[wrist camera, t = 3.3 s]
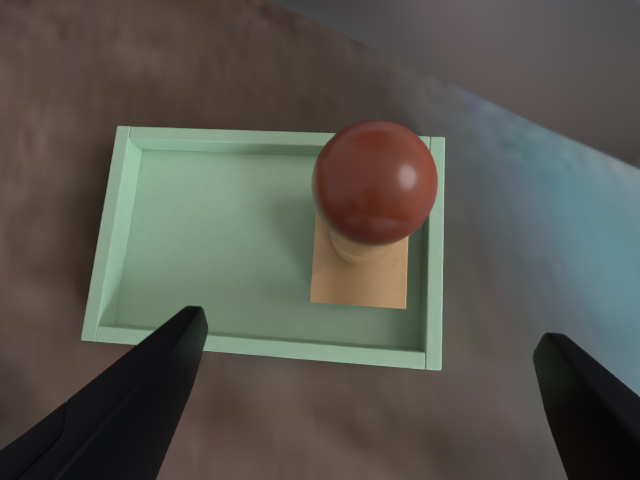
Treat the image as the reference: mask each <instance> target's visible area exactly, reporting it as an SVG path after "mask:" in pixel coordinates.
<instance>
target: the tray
mask: <svg viewBox="0 0 640 480" xmlns="http://www.w3.org/2000/svg"><path fill="white" fill-rule="evenodd" d="M335 134H337V133H310V132H280V131H249V130H219V129H189V128H159V127H130V126H117V132H116V137H115V143H114V149H113V155H112V161H111V167H110V172H109V178H108V184H107V190H106V196H105V202H104V207H103V213H102V219H101V225H100V231H99V237H98V242H97V248H96V254H95V260H94V266H93V272H92V277H91V283H90V289H89V295H88V301H87V307H86V312H85V318H84V324H83V330H82V336H81V340H85V341H97V342H109V343H121V344H132V345H137V344H139V343H140V342H141V341H142V340H144V339H145V338H146V337H147V336H149V335H150V334H151V333H152V332H154V331H155V330H156V329H158V328H159V327H160V326H161V325H163V324H164V323H165V322H166V321H168V320H169V319H170V318H171V317H173V316H174V315H175V314H176V313H178V312H179V311H180V310H181V309H183V308H184V307H185V306H188V305H194V306H201V307H202V308H203V309H204V313H205V316H206V320H207V324H208V335H207V338H206V342H205V345H204V349H203V351H215V352H226V353H238V354H250V355H262V356H273V357H285V358H297V359H309V360H320V361H332V362H344V363H356V364H368V365H379V366H391V367H403V368H415V369H428V370H441V361H442V294H443V226H444V159H445V138H444V137H429V136H418V137H419V138H420V139H421V140H422V141H423V142H424V143H425V144H426V146H427V147H428V149H429V150H430V152H431V154H432V156H433V159H434V162H435V165H436V169H437V174H438V187H437V195H436V199H435V202H434V205H433V208H432V210H431V211H430V213H429V215H428V217H427V218H426V220H425V221H424V222H423V224H422V225H421V226H420V227H419V228H418V229H417V230H416V231H415V232H413V233H412V234H411V235H409V236H408V262H407V294H406V309H398V308H384V307H370V306H356V305H342V304H329V303H315V302H309V297H310V283H311V270H312V256H313V242H314V229H315V215H316V208H315V205H314V201H313V198H312V190H311V178H312V172H313V168H314V165H315V162H316V159H317V157H318V155H319V153H320V152H321V150H322V148H323V147H324V146H325V145H326V143H327V142H328V141H329V140H330V139H331V138H332V137H333V136H334V135H335Z"/></svg>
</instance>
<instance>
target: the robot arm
mask: <svg viewBox="0 0 640 480" xmlns="http://www.w3.org/2000/svg"><path fill="white" fill-rule="evenodd" d="M207 335H208V324H207V320H206V316H205V313H204V309H203V308H202V307H201V306H194V305H188V306H185V307H184V308H183V309H181V310H180V311H179V312H178V313H176V314H175V315H174V316H173V317H171V318H170V319H169V320H168V321H166V322H165V323H164V324H163V325H161V326H160V327H159V328H158V329H156V330H155V331H154V332H152V333H151V334H150V335H149V336H147V337H146V338H145V339H144V340H142V341H141V342H140V343H139V344H137V345H136V346H135V347H134V348H132V349H131V350H130V351H129V352H127V353H126V354H125V355H124V356H122V357H121V358H120V359H119V360H117V361H116V362H115V363H114V364H112V365H111V366H110V367H108V368H107V369H106V370H105V371H103V372H102V373H101V374H100V375H98V376H97V377H96V378H95V379H93V380H92V381H91V382H90V383H88V384H87V385H86V386H85V387H83V388H82V389H81V390H80V391H78V392H77V393H76V394H75V395H73V396H72V397H71V398H70V399H68V401H67V402H65V403H63V404H62V405H61V406H59V407H58V408H57V409H56V410H54V411H53V412H52V413H50V414H49V415H48V416H47V417H45V418H44V419H43V420H41V421H40V422H39V423H38V424H36V425H35V426H34V427H32V428H31V429H30V430H28V431H27V432H26V433H24V434H23V435H22V436H20V437H19V438H17V439H16V440H15V441H13V442H12V443H11V444H9V445H8V446H6V447H5V448H4V449H2V450H1V451H0V480H156V478H157V475H158V473H159V470H160V468H161V465H162V463H163V460H164V458H165V455H166V453H167V450H168V448H169V445H170V443H171V440H172V438H173V435H174V433H175V430H176V428H177V425H178V423H179V420H180V418H181V415H182V413H183V410H184V408H185V405H186V403H187V400H188V398H189V395H190V393H191V390H192V387H193V384H194V381H195V378H196V374H197V371H198V367H199V363H200V360H201V356H202V353H203V349H204V345H205V342H206V338H207ZM533 362H534V366H535V371H536V375H537V379H538V383H539V388H540V392H541V396H542V400H543V405H544V409H545V413H546V417H547V420H548V423H549V426H550V429H551V432H552V435H553V438H554V441H555V444H556V446H557V449H558V452H559V455H560V458H561V461H562V463H563V466H564V469H565V472H566V475H567V478H568V480H640V397H639V396H638V395H637V394H636V393H634V392H633V391H632V390H631V389H630V388H628V387H627V386H626V385H625V384H624V383H622V382H621V381H620V380H619V379H618V378H616V377H615V376H614V375H613V374H612V373H610V372H609V371H608V370H607V369H606V368H604V367H603V366H602V365H601V364H600V363H598V362H597V361H596V360H595V359H594V358H592V357H591V356H590V355H589V354H588V353H586V352H585V351H584V350H583V349H582V348H580V347H579V346H578V345H577V344H576V343H574V342H573V341H572V340H571V339H570V338H569V337H567V336H566V335H564V334H561V333H545V334H544V335H543V336H542V338H541V340H540V342H539V344H538V345H537V347H536V349H535V351H534V354H533Z"/></svg>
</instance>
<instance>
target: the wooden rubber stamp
mask: <svg viewBox="0 0 640 480" xmlns="http://www.w3.org/2000/svg"><path fill="white" fill-rule="evenodd" d="M437 187H438V174H437V169H436V165H435V162H434V159H433V156H432V154H431V152H430V150H429V149H428V147H427V146H426V144H425V143H424V142H423V141H422V140H421V139H420V138H419V137H418V136H417V135H416V134H415V133H413V132H412V131H411V130H409V129H408V128H406V127H404V126H402V125H400V124H397V123H394V122H390V121H385V120H368V121H362V122H359V123H355V124H352V125H350V126H348V127H346V128H344V129H342V130H341V131H339V132H338V133H337V134H335V135H334V136H333V137H332V138H331V139H330V140H329V141H328V142H327V143H326V145H325V146H324V147H323V148H322V150H321V152H320V153H319V155H318V157H317V159H316V162H315V165H314V168H313V172H312V178H311V190H312V198H313V201H314V205H315V208H316V215H315V229H314V242H313V256H312V270H311V283H310V297H309V302H315V303H329V304H342V305H356V306H370V307H384V308H398V309H406V294H407V262H408V236H409V235H411V234H412V233H413V232H415V231H416V230H417V229H418V228H419V227H420V226H421V225H422V224H423V222H424V221H425V220H426V218H427V217H428V215H429V213H430V211H431V210H432V208H433V205H434V202H435V199H436V195H437Z"/></svg>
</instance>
